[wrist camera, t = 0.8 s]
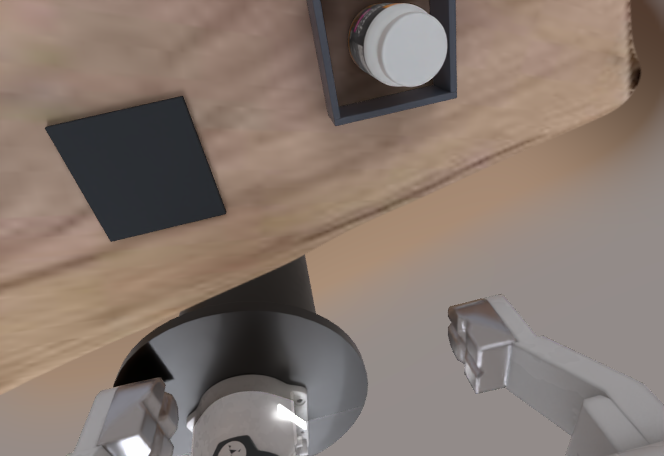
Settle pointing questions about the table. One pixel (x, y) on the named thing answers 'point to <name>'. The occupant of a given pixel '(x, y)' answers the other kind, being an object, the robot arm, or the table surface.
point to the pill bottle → (397, 43)
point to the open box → (439, 91)
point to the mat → (140, 167)
